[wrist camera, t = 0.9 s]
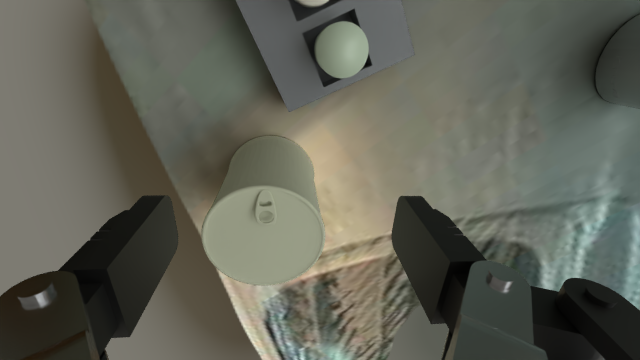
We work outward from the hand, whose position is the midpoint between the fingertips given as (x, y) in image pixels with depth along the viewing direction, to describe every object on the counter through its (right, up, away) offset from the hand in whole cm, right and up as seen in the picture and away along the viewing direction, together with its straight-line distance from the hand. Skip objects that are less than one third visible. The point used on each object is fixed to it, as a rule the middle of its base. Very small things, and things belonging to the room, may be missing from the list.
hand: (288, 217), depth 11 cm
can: (-4, +2, +22) cm, 22 cm away
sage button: (+3, +13, +15) cm, 19 cm away
